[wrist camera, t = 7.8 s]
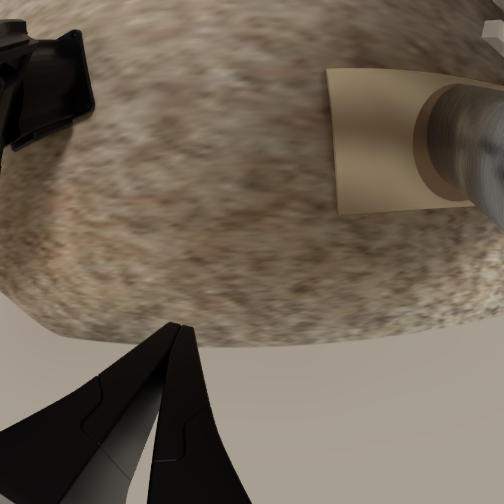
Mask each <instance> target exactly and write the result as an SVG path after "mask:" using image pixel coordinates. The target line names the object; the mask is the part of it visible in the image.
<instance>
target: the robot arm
mask: <svg viewBox="0 0 504 504" xmlns="http://www.w3.org/2000/svg"><path fill="white" fill-rule="evenodd" d="M27 34H28V32H27V28H26V21H24V20H21V19H5V20H0V173H1V159H2V154H3V149H4V148H6V147H8V146H10V145H11V149H12V151H14V152H16V151H18V150H20V149H22V148H25V147H27V146H29V145H31V144H33V143H35V142H37V141H39V140H42V139H44V138H46V137H48V136H51V135H53V134H55V133H57V132H59V131H61V130H64V129H66V128H68V127H70V126H71V125H72V123H73V122H72V119H74V118H76V117H79V116H81V115H83V114H86V113H88V112H91V111H92V110H93V109H94V107H95V101H94V97H93V92H92V88H91V83H90V78H89V73H88V68H87V63H86V57H85V52H84V46H83V39H82V33H81V31H80V30H72V31H70V32H68V33H66V34H65V35H63V36H61V37H59V38H58V39H56V40H35V39H33V38H31V37H29V36H28V35H27ZM74 34H76V36H75V38H74V39H73V36H74ZM87 103H89V108H87V106H86V104H87ZM158 412H159V416H158V422H157V428H156V435H155V442H154V449H153V456H152V464H151V472H150V480H149V489H148V498H147V504H252V503H251V501H250V499H249V497H248V495H247V493H246V491H245V489H244V487H243V485H242V483H241V481H240V479H239V477H238V475H237V473H236V471H235V469H234V467H233V465H232V463H231V461H230V459H229V457H228V454H227V452H226V450H225V448H224V446H223V443H222V441H221V438H220V436H219V434H218V431H217V427H216V424H215V420H214V417H213V413H212V409H211V407H210V402H209V398H208V393H207V389H206V384H205V380H204V375H203V371H202V366H201V362H200V357H199V352H198V347H197V342H196V337H195V332H194V328H193V327H191V326H186V325H182V326H181V325H180V324H178V323H173V322H169V323H167V324H166V325H164V326H163V327H162V328H160V329H159V330H158V331H156V332H155V333H154V334H152V335H151V336H150V337H148V338H147V339H146V340H144V341H143V342H142V343H140V344H139V345H138V346H136V347H135V348H134V349H132V350H131V351H130V352H128V353H127V354H126V355H124V356H123V357H121V358H120V359H119V360H117V361H116V362H115V363H113V364H112V365H111V366H109V367H108V368H107V369H105V370H104V371H103V372H101V373H100V374H99V375H98V376H95V377H94V378H93V379H91V380H90V381H88V382H87V383H86V384H84V385H83V386H81V387H80V388H78V389H77V390H75V391H74V392H72V393H70V394H69V395H67V396H65V397H64V398H62V399H60V400H59V401H56V402H55V403H53V404H51V405H49V406H47V407H46V408H44V409H42V410H40V411H38V412H36V413H34V414H33V415H31V416H29V417H27V418H25V419H23V420H21V421H20V422H18V423H16V424H14V425H12V426H10V427H8V428H6V429H4V430H3V431H0V504H125V503H126V497H127V492H128V488H129V486H130V483H131V480H132V478H133V475H134V472H135V470H136V467H137V464H138V462H139V459H140V457H141V454H142V452H143V449H144V447H145V444H146V441H147V439H148V436H149V434H150V431H151V429H152V426H153V424H154V421H155V419H156V416H157V414H158Z"/></svg>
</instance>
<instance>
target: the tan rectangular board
mask: <svg viewBox="0 0 504 504" xmlns="http://www.w3.org/2000/svg"><path fill="white" fill-rule="evenodd" d="M325 71H326V78H327V86H328V94H329V103H330V112H331V122H332V134H333V146H334V160H335V177H336V198H337V213H338V216H342V215H353V214H365V213H378V212H391V211H404V210H419V209H434V208H450V207H468V206H475V205H474V204H473V203H472V202H471V201H469V200H468V199H467V198H466V197H464V196H463V195H462V194H461V193H460V192H458V191H457V190H456V189H455V188H453V187H452V186H451V185H449V184H448V183H447V182H446V181H444V180H443V179H442V178H441V177H440V175H439V174H438V173H437V171H436V170H435V168H434V166H433V164H432V162H431V159H430V156H429V152H428V146H427V126H428V120H429V117H430V113H431V111H432V108H433V106H434V104H435V103H436V101H437V100H438V98H439V97H440V96H441V95H442V94H443V93H444V92H445V91H446V90H448V89H449V88H451V87H453V86H456V85H461V84H469V85H475V86H481V87H486V88H491V89H496V90H500V91H504V86H501V85H497V84H493V83H489V82H484V81H480V80H475V79H470V78H464V77H458V76H452V75H446V74H438V73H430V72H421V71H411V70H398V69H378V68H332V69H325Z"/></svg>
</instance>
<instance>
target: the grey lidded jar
mask: <svg viewBox="0 0 504 504" xmlns="http://www.w3.org/2000/svg"><path fill="white" fill-rule="evenodd" d="M427 146H428V152H429V156H430V159H431V162H432V164H433V166H434V168H435V170H436V171H437V173H438V174H439V175H440V177H441V178H442V179H443V180H444V181H446V182H447V183H448V184H449V185H451V186H452V187H453V188H455V189H456V190H457V191H458V192H460V193H461V194H462V195H463V196H464V197H466V198H467V199H468V200H469V201H471V202H472V203H473V204H474V205H475V206H476V207H478V208H479V209H480V210H481V211H482V212H483V213H484V214H486V215H487V216H488V217H489V218H490V219H491V220H492V221H493V222H494V223H495V224H497V225H498V226H499V227H500V228H501V229H502V230H503V231H504V91H500V90H496V89H491V88H486V87H481V86H475V85H469V84H461V85H456V86H453V87H451V88H449V89H448V90H446V91H445V92H444V93H443V94H442V95H441V96H440V97H439V98H438V100H437V101H436V103H435V104H434V106H433V108H432V111H431V113H430V117H429V120H428V126H427Z"/></svg>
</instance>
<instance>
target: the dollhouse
mask: <svg viewBox="0 0 504 504" xmlns="http://www.w3.org/2000/svg"><path fill="white" fill-rule="evenodd" d="M492 1H493V2H494V3H495V4H496V5H497V6H498V7H499V8H501V9H502V10H503V11H504V0H492ZM481 38H482V39H484V40H485V41H486V42H487V43H488V44H489V45H491V46H492V47H493V48H494V49H495V50H496V51H497V52H498V53H500V54H501V55H502V56H503V57H504V22H503V21H502V20H490V21H485V23H484V27H483V32H482V36H481Z"/></svg>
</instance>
